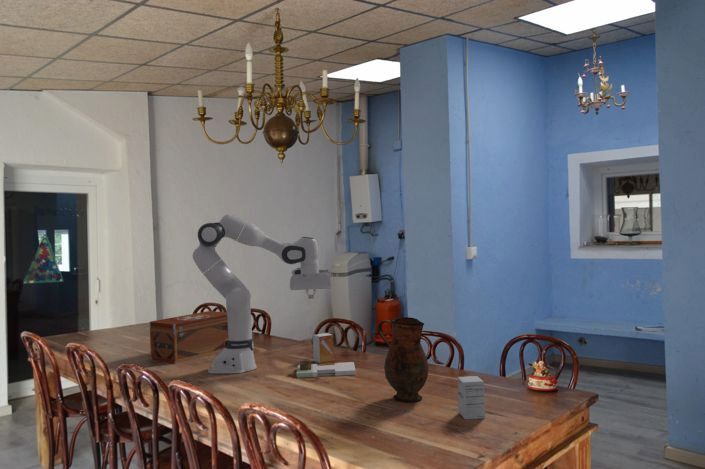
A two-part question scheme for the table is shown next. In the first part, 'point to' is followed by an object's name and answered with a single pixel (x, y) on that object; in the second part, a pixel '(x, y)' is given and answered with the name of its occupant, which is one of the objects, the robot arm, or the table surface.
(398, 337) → the pitcher
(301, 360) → the walnut block
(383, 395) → the table surface
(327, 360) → the small box
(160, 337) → the wooden box
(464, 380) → the supplement box
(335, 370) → the trap lane
